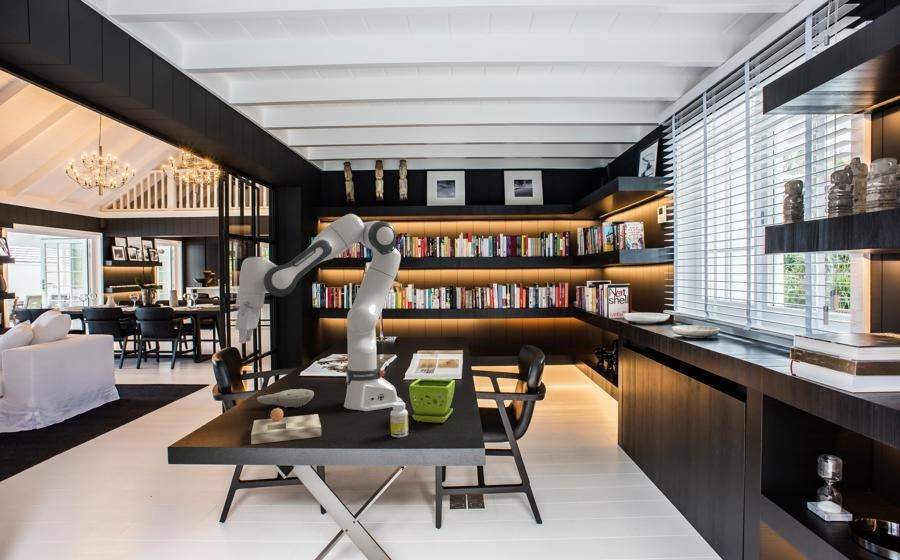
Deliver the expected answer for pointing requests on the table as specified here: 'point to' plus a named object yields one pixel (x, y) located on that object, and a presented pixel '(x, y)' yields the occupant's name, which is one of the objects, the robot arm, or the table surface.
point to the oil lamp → (288, 398)
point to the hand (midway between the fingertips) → (244, 342)
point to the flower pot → (431, 399)
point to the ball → (276, 414)
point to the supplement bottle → (399, 420)
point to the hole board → (285, 429)
